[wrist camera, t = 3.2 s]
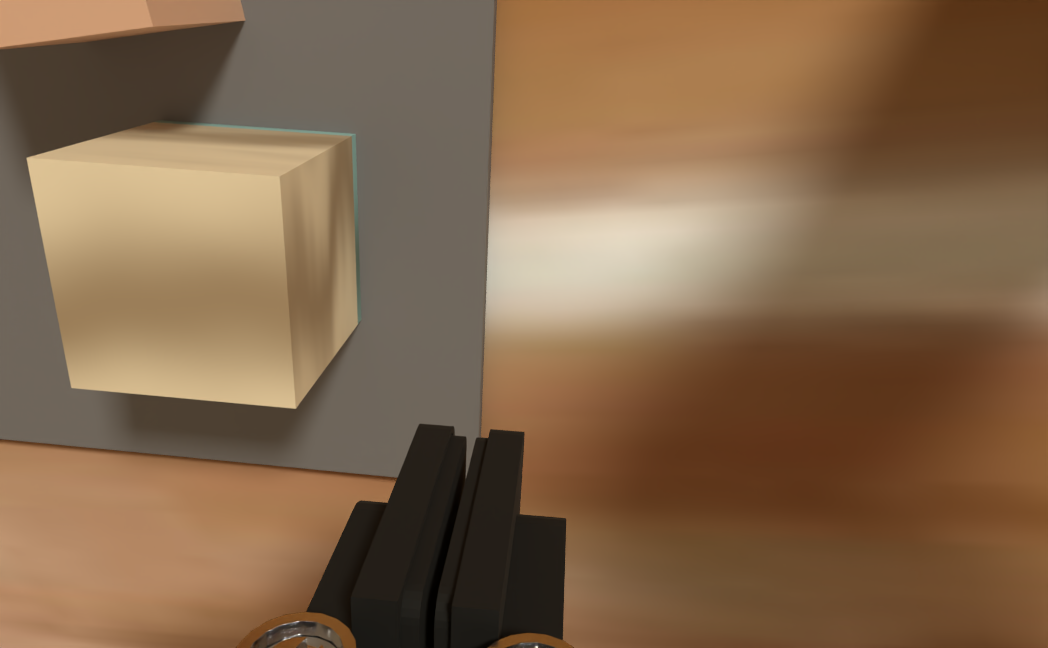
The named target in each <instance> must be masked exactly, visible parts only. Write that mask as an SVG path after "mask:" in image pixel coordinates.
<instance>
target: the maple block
mask: <svg viewBox="0 0 1048 648" xmlns="http://www.w3.org/2000/svg"><path fill="white" fill-rule="evenodd" d="M27 163H28V168H29V174H30V179H31V184H32V189H33V194H34V199H35V204H36V209H37V214H38V220H39V225H40V230H41V235H42V240H43V245H44V250H45V255H46V261H47V266H48V271H49V276H50V281H51V286H52V291H53V296H54V301H55V307H56V312H57V317H58V322H59V327H60V332H61V337H62V342H63V348H64V353H65V358H66V363H67V368H68V373H69V378H70V383H71V388H77V389H87V390H98V391H109V392H120V393H131V394H142V395H152V396H163V397H174V398H185V399H196V400H207V401H217V402H228V403H239V404H250V405H261V406H272V407H282V408H293V409H296V408H297V406H298V405H299V404H300V402H301V401H302V400H303V398H304V397H305V396H306V394H307V393H308V391H309V390H310V389H311V387H312V386H313V385H314V383H315V382H316V381H317V379H318V378H319V377H320V375H321V374H322V372H323V371H324V370H325V368H326V367H327V366H328V364H329V363H330V362H331V360H332V359H333V358H334V356H335V355H336V353H337V352H338V351H339V349H340V348H341V347H342V345H343V344H344V343H345V341H346V340H347V339H348V337H349V336H350V334H351V333H352V332H353V330H354V329H355V328H356V326H357V325H358V324H359V322H360V321H361V294H360V261H359V228H358V195H357V162H356V134H350V133H336V132H321V131H307V130H293V129H279V128H264V127H250V126H236V125H222V124H207V123H193V122H179V121H164V120H160V121H156V122H152V123H149V124H145V125H142V126H138V127H135V128H131V129H127V130H124V131H120V132H117V133H113V134H110V135H106V136H102V137H99V138H95V139H92V140H88V141H85V142H81V143H77V144H74V145H70V146H67V147H63V148H60V149H56V150H53V151H49V152H45V153H42V154H38V155H35V156H31V157H28V158H27Z"/></svg>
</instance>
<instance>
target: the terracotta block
mask: <svg viewBox="0 0 1048 648" xmlns="http://www.w3.org/2000/svg"><path fill="white" fill-rule="evenodd" d="M238 21H245V17H244V12H243V8H242V4H241V0H0V49H12V48H23V47H35V46H46V45H58V44H69V43H81V42H90V41H97V40H104V39H112V38H119V37H127V36H134V35H142V34H149V33H157V32H164V31H171V30H179V29H186V28H194V27H201V26H209V25H216V24H223V23H231V22H238Z"/></svg>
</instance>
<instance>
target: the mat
mask: <svg viewBox="0 0 1048 648" xmlns="http://www.w3.org/2000/svg"><path fill="white" fill-rule="evenodd" d="M241 4H242V8H243V12H244V17H245V21H238V22H231V23H223V24H216V25H209V26H201V27H194V28H186V29H179V30H171V31H164V32H157V33H149V34H142V35H134V36H127V37H119V38H112V39H104V40H97V41H90V42H81V43H69V44H58V45H46V46H35V47H23V48H12V49H0V439H5V440H16V441H26V442H36V443H47V444H57V445H67V446H78V447H88V448H98V449H109V450H119V451H129V452H140V453H150V454H160V455H170V456H181V457H191V458H201V459H212V460H222V461H232V462H243V463H253V464H263V465H274V466H284V467H294V468H304V469H315V470H325V471H335V472H346V473H356V474H366V475H377V476H387V477H397V478H398V475H399V473H400V470H401V468H402V465H403V463H404V460H405V458H406V455H407V453H408V450H409V448H410V445H411V442H412V440H413V437H414V435H415V432H416V430H417V427H418V425H419V424H432V425H444V426H454V429H455V436H466V439H467V451H466V476H467V472H468V468H469V464H470V460H471V456H472V452H473V448H474V444H475V440H476V438H477V437H479V438H481V416H482V389H483V362H484V335H485V308H486V281H487V253H488V226H489V199H490V172H491V145H492V118H493V91H494V64H495V36H496V9H497V0H241ZM160 120H164V121H179V122H193V123H207V124H222V125H236V126H250V127H264V128H279V129H293V130H307V131H321V132H336V133H350V134H356V162H357V195H358V228H359V261H360V294H361V321H360V322H359V324H358V325H357V326H356V328H355V329H354V330H353V332H352V333H351V334H350V336H349V337H348V339H347V340H346V341H345V343H344V344H343V345H342V347H341V348H340V349H339V351H338V352H337V353H336V355H335V356H334V358H333V359H332V360H331V362H330V363H329V364H328V366H327V367H326V368H325V370H324V371H323V372H322V374H321V375H320V377H319V378H318V379H317V381H316V382H315V383H314V385H313V386H312V387H311V389H310V390H309V391H308V393H307V394H306V396H305V397H304V398H303V400H302V401H301V402H300V404H299V405H298V406H297V408H296V409H293V408H282V407H272V406H261V405H250V404H239V403H228V402H217V401H207V400H196V399H185V398H174V397H163V396H152V395H142V394H131V393H120V392H109V391H98V390H87V389H77V388H71V383H70V378H69V373H68V368H67V363H66V358H65V353H64V348H63V342H62V337H61V332H60V327H59V322H58V317H57V312H56V307H55V301H54V296H53V291H52V286H51V281H50V276H49V271H48V266H47V261H46V255H45V250H44V245H43V240H42V235H41V230H40V225H39V220H38V214H37V209H36V204H35V199H34V194H33V189H32V184H31V179H30V174H29V168H28V163H27V158H28V157H31V156H35V155H38V154H42V153H45V152H49V151H53V150H56V149H60V148H63V147H67V146H70V145H74V144H77V143H81V142H85V141H88V140H92V139H95V138H99V137H102V136H106V135H110V134H113V133H117V132H120V131H124V130H127V129H131V128H135V127H138V126H142V125H145V124H149V123H152V122H156V121H160Z"/></svg>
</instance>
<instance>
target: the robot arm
mask: <svg viewBox="0 0 1048 648" xmlns="http://www.w3.org/2000/svg"><path fill="white" fill-rule="evenodd" d="M466 451H467V439H466V436H455V429H454V426H444V425H432V424H419V425H418V427H417V430H416V432H415V435H414V437H413V440H412V442H411V445H410V448H409V450H408V453H407V455H406V458H405V460H404V463H403V465H402V468H401V470H400V473H399V475H398V478H397V481H396V483H395V486H394V488H393V491H392V493H391V496H390V498H389V501H388V503H383V502H371V501H359V502H357V504H356V506H355V507H354V509H353V511H352V513H351V516H350V518H349V520H348V522H347V524H346V526H345V529H344V531H343V533H342V535H341V537H340V540H339V542H338V544H337V546H336V548H335V550H334V553H333V555H332V557H331V559H330V561H329V564H328V566H327V568H326V570H325V572H324V574H323V577H322V579H321V581H320V583H319V585H318V588H317V590H316V592H315V594H314V596H313V598H312V601H311V603H310V605H309V607H308V609H307V612H301V613H293V614H286V615H283V616H280V617H277V618H275V619H272V620H269V621H267V622H265V623H264V624H262V625H260V626H259V627H257V628H255V629H254V630H252V631H251V632H250V633H249V634H248V635H247V636H246V637H245V638H244V639H243V640H242V641H241V642H240V643H239V644H238V646H237V647H236V648H574V647H572V646H571V645H569V644H568V643H566V642H565V641H563V610H564V577H565V543H566V518H555V517H544V516H532V515H521V514H520V499H521V483H522V467H523V452H524V432H516V431H504V430H492V429H491V430H490V433H489V438H479V437H477V438H476V440H475V444H474V448H473V452H472V456H471V460H470V464H469V468H468V472H467V476H466Z"/></svg>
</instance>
